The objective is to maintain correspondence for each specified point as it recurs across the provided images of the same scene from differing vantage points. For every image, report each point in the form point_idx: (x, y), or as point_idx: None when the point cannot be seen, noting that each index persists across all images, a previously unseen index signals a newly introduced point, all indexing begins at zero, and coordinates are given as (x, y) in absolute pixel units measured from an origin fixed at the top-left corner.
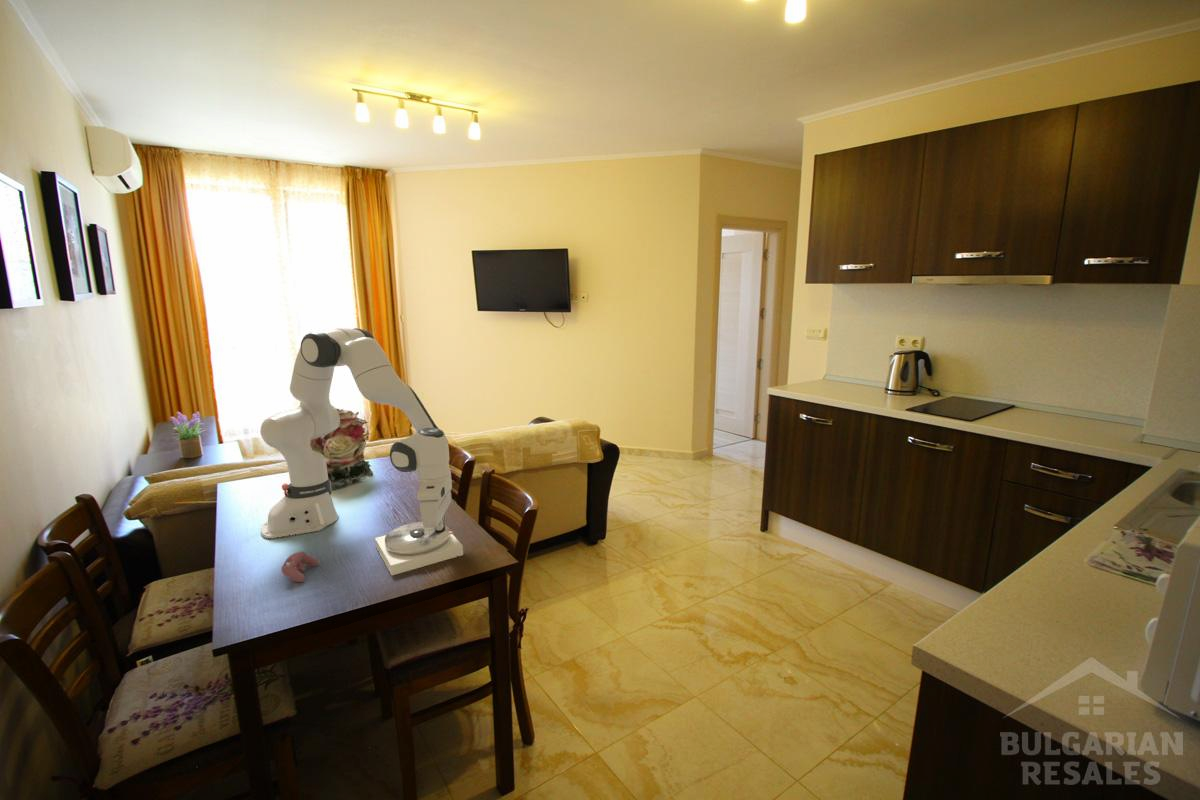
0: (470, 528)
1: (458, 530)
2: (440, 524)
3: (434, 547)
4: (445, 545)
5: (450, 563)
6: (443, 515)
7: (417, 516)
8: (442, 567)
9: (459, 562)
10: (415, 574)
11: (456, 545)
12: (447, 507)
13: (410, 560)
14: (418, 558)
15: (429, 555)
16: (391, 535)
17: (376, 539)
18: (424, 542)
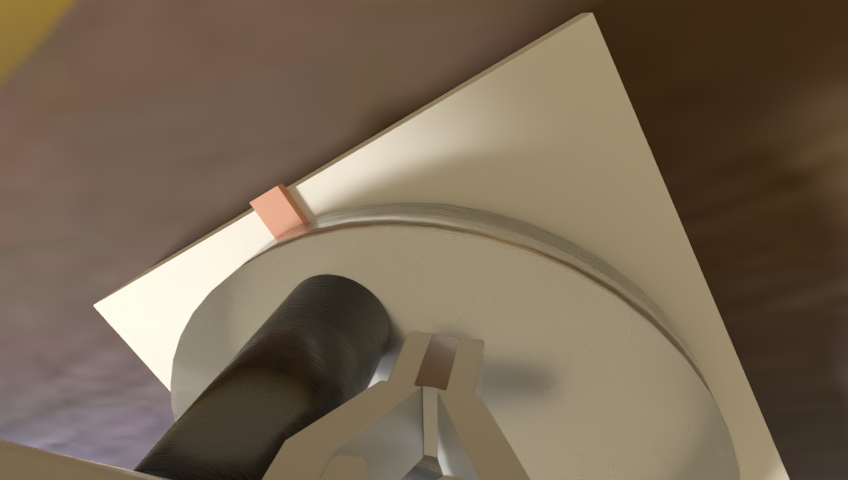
0: (70, 51)
1: (125, 149)
2: (483, 414)
3: (664, 324)
4: (553, 217)
5: (740, 116)
6: (315, 457)
7: (30, 406)
8: (802, 179)
9: (752, 21)
10: (842, 367)
11: (580, 95)
12: (64, 471)
13: (780, 462)
14: (757, 411)
15: (727, 334)
16: None
17: None
18: (618, 437)
